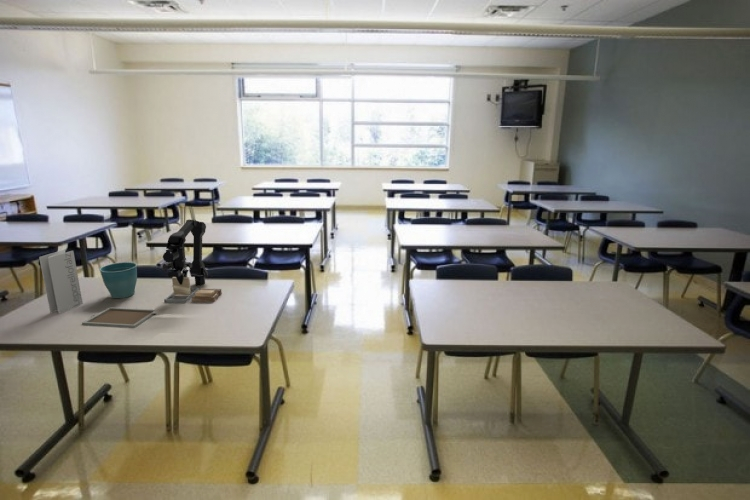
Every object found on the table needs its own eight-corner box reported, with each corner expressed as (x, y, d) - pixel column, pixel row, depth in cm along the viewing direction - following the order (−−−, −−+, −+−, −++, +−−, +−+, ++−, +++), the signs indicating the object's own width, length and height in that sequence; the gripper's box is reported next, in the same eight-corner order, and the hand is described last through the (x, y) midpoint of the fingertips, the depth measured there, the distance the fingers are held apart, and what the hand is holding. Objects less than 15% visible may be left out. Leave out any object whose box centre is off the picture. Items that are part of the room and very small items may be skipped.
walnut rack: (201, 295, 244) (200, 288, 243) (221, 296, 244) (221, 288, 243) (192, 303, 232) (191, 296, 231) (214, 304, 232) (213, 296, 231)
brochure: (59, 314, 217) (48, 257, 209) (50, 313, 218) (38, 257, 210) (82, 303, 231) (73, 250, 223) (74, 302, 232) (64, 249, 224)
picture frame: (134, 325, 203) (76, 322, 206) (135, 328, 203) (77, 325, 206) (158, 309, 221) (104, 307, 224) (158, 312, 222) (105, 309, 225)
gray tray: (180, 292, 249) (179, 287, 248) (200, 292, 249) (199, 287, 248) (164, 304, 231) (164, 299, 230) (186, 304, 231) (185, 299, 230)
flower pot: (107, 303, 231) (102, 273, 227) (101, 294, 245) (96, 266, 240) (144, 295, 243) (140, 267, 239) (136, 287, 256) (132, 260, 252)
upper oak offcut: (198, 294, 237) (198, 290, 236) (214, 294, 237) (214, 290, 236) (195, 296, 233) (195, 292, 232) (211, 296, 233) (211, 293, 232)
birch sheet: (175, 293, 240) (173, 277, 238) (191, 293, 240) (189, 277, 238) (174, 294, 239) (171, 277, 236) (189, 294, 239) (188, 278, 236)
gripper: (171, 252, 243) (174, 278, 247) (155, 262, 225) (159, 289, 229) (191, 252, 243) (194, 278, 247) (176, 262, 225) (179, 289, 229)
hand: (181, 283), depth 238 cm, fingers closed on birch sheet, 1 cm apart
